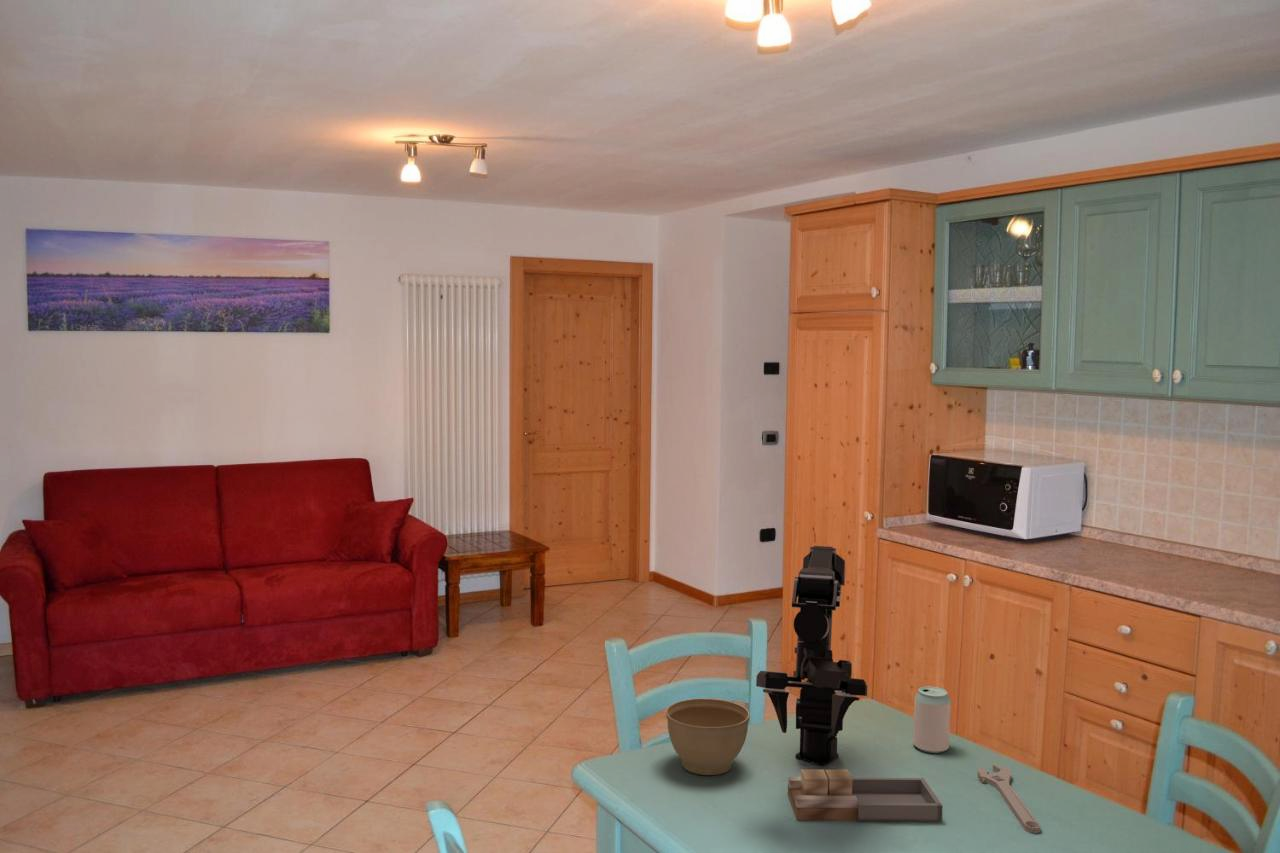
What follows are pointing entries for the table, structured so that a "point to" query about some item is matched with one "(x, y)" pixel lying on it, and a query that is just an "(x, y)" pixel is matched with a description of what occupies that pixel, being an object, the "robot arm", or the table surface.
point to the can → (932, 720)
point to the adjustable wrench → (1009, 796)
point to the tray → (896, 800)
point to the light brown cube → (839, 783)
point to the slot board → (820, 804)
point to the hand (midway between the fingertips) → (809, 734)
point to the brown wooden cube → (814, 782)
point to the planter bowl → (707, 733)
